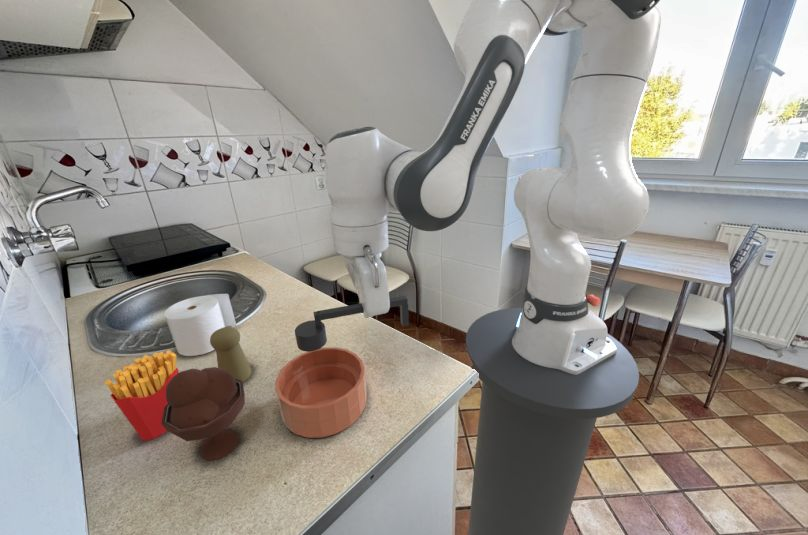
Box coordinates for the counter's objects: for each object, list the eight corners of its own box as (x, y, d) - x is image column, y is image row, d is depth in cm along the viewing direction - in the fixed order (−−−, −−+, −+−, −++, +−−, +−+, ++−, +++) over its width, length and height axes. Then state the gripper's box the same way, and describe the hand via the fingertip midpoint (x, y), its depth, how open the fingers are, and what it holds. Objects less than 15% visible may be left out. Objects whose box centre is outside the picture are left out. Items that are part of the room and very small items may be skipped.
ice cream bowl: (213, 490, 45) (182, 410, 39) (165, 460, 50) (131, 384, 44) (271, 431, 54) (252, 359, 48) (225, 409, 59) (203, 341, 53)
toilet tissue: (166, 356, 73) (151, 318, 69) (200, 326, 84) (190, 292, 80) (210, 357, 72) (198, 319, 69) (239, 327, 83) (230, 293, 80)
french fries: (138, 448, 52) (107, 386, 47) (129, 435, 54) (99, 374, 49) (199, 411, 58) (177, 352, 53) (188, 400, 61) (167, 344, 56)
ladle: (297, 354, 53) (292, 325, 51) (297, 337, 58) (291, 310, 55) (411, 330, 59) (411, 303, 56) (403, 316, 63) (402, 290, 61)
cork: (249, 382, 65) (236, 337, 61) (216, 388, 63) (201, 342, 59) (253, 363, 70) (242, 320, 66) (223, 369, 69) (210, 325, 65)
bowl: (358, 368, 68) (355, 340, 65) (375, 425, 55) (372, 393, 52) (283, 385, 64) (276, 357, 61) (281, 452, 51) (273, 419, 48)
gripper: (398, 256, 44) (401, 340, 49) (367, 220, 61) (371, 285, 67) (352, 262, 42) (360, 349, 47) (333, 224, 60) (341, 290, 65)
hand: (367, 311), depth 57 cm, fingers closed on ladle
